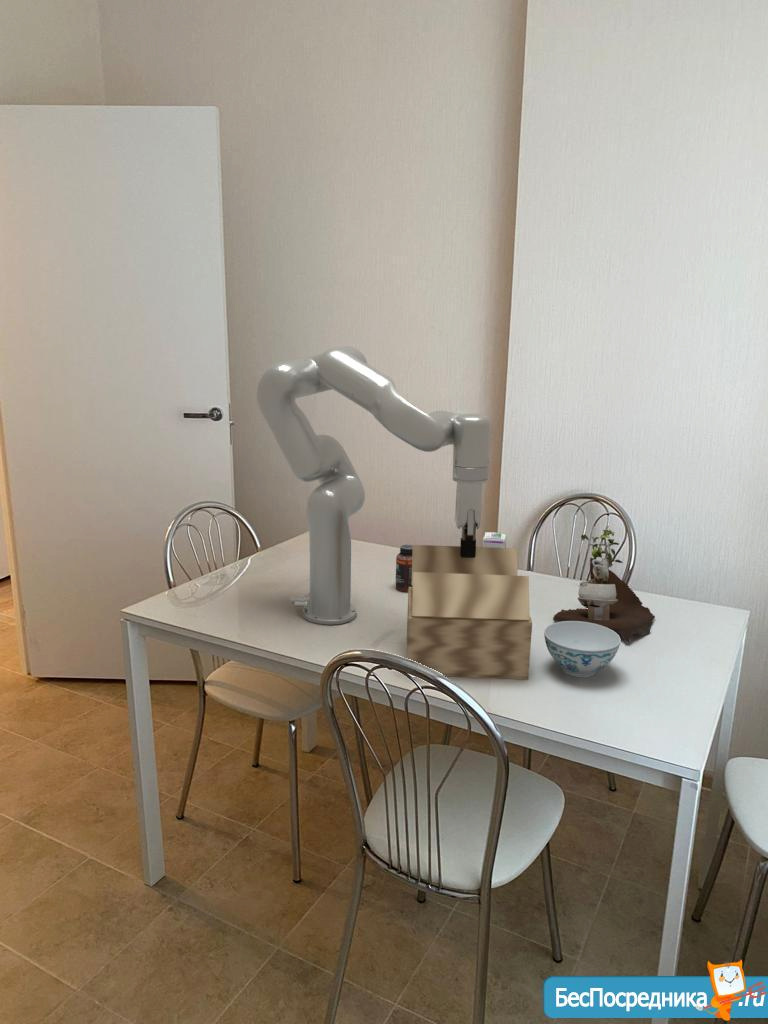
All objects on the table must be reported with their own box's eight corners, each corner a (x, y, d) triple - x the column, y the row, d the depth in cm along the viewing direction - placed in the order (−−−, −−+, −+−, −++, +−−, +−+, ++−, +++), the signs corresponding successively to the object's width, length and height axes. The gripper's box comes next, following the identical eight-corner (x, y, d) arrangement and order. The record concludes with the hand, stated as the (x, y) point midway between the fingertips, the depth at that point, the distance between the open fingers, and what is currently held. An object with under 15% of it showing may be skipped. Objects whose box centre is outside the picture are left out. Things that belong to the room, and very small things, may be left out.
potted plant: (550, 634, 192) (554, 527, 193) (585, 631, 207) (588, 531, 208) (633, 643, 179) (636, 528, 181) (664, 639, 194) (667, 533, 196)
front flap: (411, 616, 161) (411, 615, 160) (412, 572, 164) (413, 572, 163) (529, 620, 160) (529, 619, 160) (528, 576, 163) (528, 576, 163)
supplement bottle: (422, 587, 213) (424, 545, 210) (411, 594, 208) (412, 551, 205) (402, 583, 216) (404, 541, 213) (390, 589, 211) (392, 547, 208)
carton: (406, 674, 164) (408, 618, 161) (406, 638, 181) (408, 586, 178) (527, 679, 163) (532, 622, 160) (516, 642, 181) (520, 590, 178)
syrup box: (502, 593, 210) (506, 539, 207) (479, 591, 212) (482, 537, 208) (504, 586, 216) (507, 533, 212) (481, 584, 217) (484, 531, 213)
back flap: (412, 544, 180) (412, 545, 180) (411, 585, 178) (411, 585, 179) (517, 548, 179) (517, 548, 180) (517, 588, 178) (517, 589, 178)
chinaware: (570, 692, 158) (573, 655, 156) (527, 661, 172) (529, 626, 170) (632, 680, 164) (636, 644, 162) (586, 650, 178) (589, 617, 176)
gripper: (450, 466, 181) (448, 546, 186) (454, 480, 167) (452, 567, 171) (485, 466, 181) (482, 547, 186) (491, 481, 167) (488, 567, 171)
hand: (467, 556), depth 178 cm, fingers closed
